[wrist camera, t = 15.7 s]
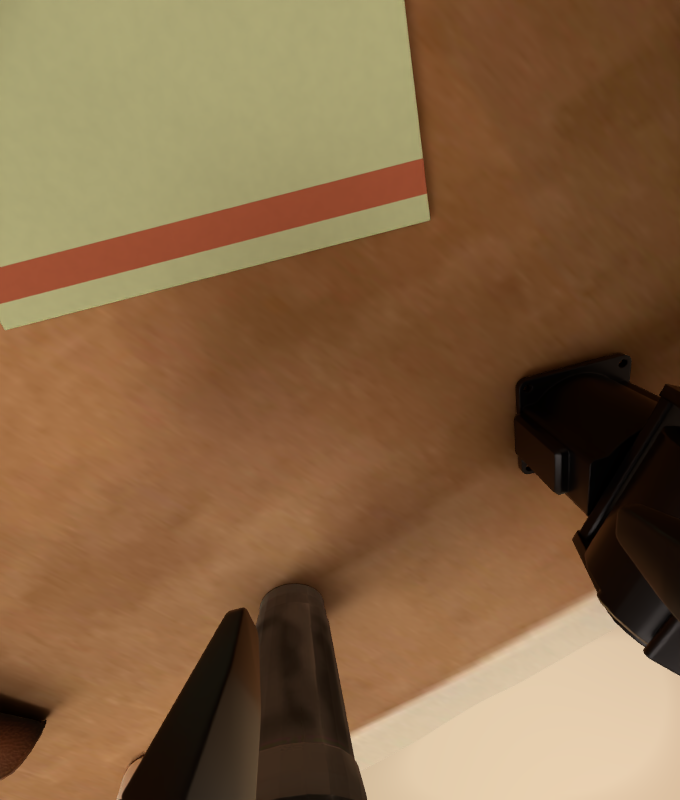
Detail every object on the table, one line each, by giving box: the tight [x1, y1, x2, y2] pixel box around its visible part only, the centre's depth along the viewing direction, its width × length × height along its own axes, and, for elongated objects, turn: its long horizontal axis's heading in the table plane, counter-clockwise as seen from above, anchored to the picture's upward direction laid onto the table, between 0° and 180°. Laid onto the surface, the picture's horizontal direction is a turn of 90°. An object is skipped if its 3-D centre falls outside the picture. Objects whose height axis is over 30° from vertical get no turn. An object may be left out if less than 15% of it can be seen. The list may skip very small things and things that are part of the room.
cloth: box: [0, 0, 430, 330], centre depth 15 cm, size 20×16×1 cm
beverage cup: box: [256, 584, 367, 800], centre depth 19 cm, size 7×7×20 cm
